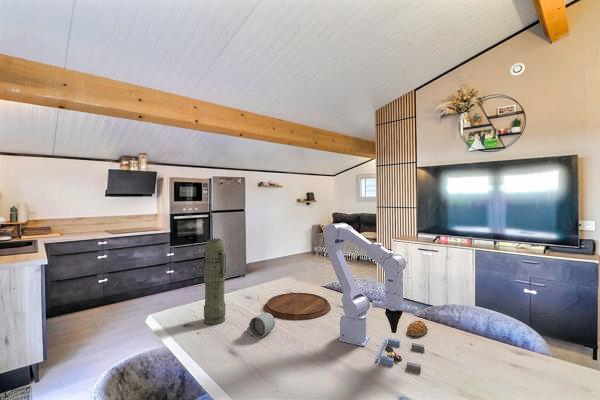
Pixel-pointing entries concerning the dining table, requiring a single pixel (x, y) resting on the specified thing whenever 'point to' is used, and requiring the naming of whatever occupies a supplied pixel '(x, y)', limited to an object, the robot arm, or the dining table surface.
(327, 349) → the dining table surface
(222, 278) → the thermos
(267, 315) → the ceramic mug
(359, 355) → the dining table surface
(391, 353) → the composite cable
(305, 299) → the cutting board
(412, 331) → the pastry
